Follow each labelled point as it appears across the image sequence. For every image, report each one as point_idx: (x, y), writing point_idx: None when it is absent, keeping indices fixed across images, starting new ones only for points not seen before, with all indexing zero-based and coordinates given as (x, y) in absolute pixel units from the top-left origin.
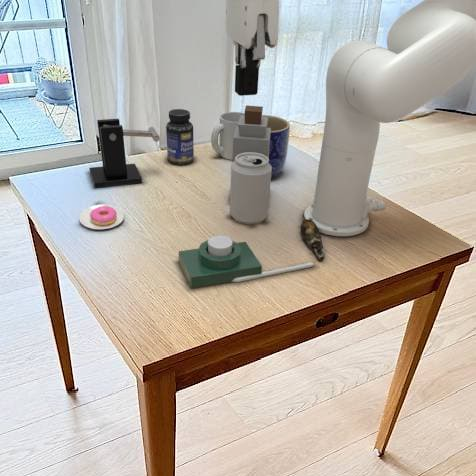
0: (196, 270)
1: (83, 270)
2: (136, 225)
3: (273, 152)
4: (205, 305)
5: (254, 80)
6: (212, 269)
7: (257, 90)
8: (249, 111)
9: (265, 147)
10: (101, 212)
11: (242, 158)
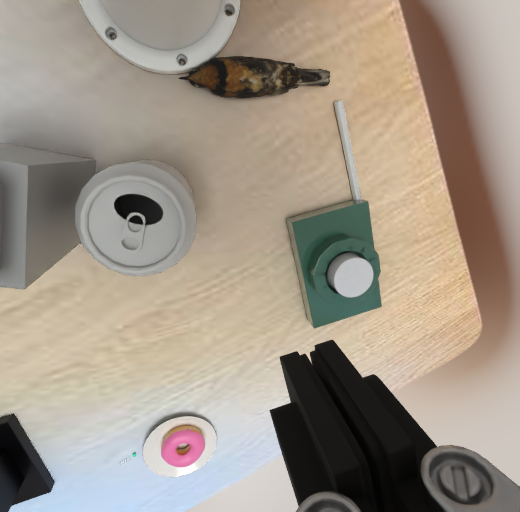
0: (367, 300)
1: None
2: (194, 392)
3: None
4: (408, 279)
5: (397, 405)
6: None
7: (336, 346)
8: None
9: (38, 175)
10: (176, 452)
11: (116, 250)
